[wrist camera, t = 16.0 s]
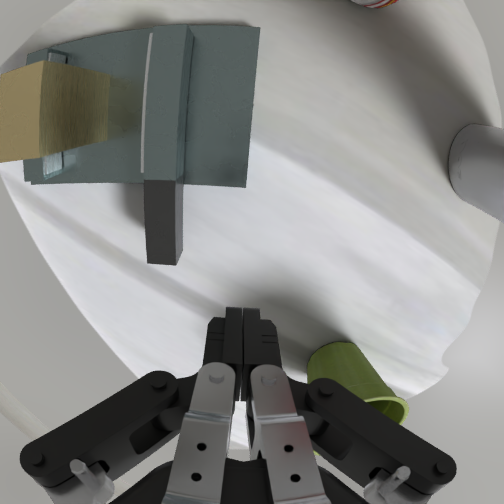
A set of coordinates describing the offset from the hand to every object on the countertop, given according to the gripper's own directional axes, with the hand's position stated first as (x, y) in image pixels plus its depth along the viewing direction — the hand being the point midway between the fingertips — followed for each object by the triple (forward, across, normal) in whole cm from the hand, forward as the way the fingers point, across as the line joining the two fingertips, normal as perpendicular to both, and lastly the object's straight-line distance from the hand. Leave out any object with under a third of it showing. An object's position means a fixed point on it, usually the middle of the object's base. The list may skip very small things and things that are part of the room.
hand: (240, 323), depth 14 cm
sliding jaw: (+14, +6, -7) cm, 16 cm away
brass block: (+14, +14, -10) cm, 22 cm away
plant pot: (+16, -13, +18) cm, 27 cm away
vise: (+16, +11, -10) cm, 21 cm away
